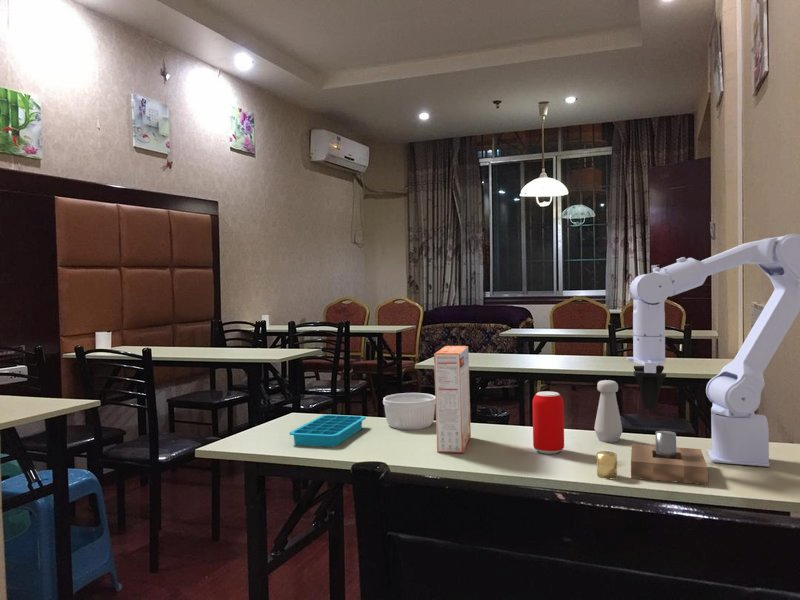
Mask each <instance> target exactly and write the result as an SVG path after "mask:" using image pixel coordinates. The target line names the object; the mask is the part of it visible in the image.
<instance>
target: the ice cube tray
mask: <svg viewBox="0 0 800 600" xmlns="http://www.w3.org/2000/svg"><path fill="white" fill-rule="evenodd" d="M365 420H366V416H364V415H347V414H346V415H345V414H344V415H341V414H324V415H320V416H318V417H316V418H314V419H312V420H311V421H309V422H306V423H305V424H302V425H301V426H299V427H297V428H295V429H293V430H290V431H289V435H290V436H293V443H294V445H295V446H309V447H310V446H312V447H327V448H328V447H329V448H333V447H334V448H335V447H337V446H338V445H340V444H341V443H343V442H344V441H345V440H347V439H349V438H351V436H353V435H355V434H356V433H357V432H359V431H360V430H362V427H363V421H365Z"/></svg>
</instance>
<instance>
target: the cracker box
mask: <svg viewBox="0 0 800 600" xmlns="http://www.w3.org/2000/svg"><path fill="white" fill-rule="evenodd" d="M469 357H470V355H469V346H468V345H467V346H466V345H445V346H443V347H441V349H439V350H438V351H436V352H435V353H434V354H433V361H434V362H433V363H434V368H433V369H434V391H435V392H434V393H435V394H434V396H435V398H436V403H435V422H436V429H435V430H436V450H437V451H436V452H437V453H444V454H447V453H452V454H463V453H465V451H466V450H465V449H466V448H467V446H468V443H469V441H470V439H471V436H472V434H471V432H472V431H471V428H472V427H471V402H470V401H471V400H470V399H471V396H470V395H471V394H470V364H469V363H470V362H469Z"/></svg>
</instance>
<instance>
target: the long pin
mask: <svg viewBox="0 0 800 600" xmlns="http://www.w3.org/2000/svg"><path fill="white" fill-rule="evenodd" d="M654 435H655V446H656V458H666V459H676V447H677V433H676V432H674V431H669V430H656V431H655V434H654Z"/></svg>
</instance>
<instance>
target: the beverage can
mask: <svg viewBox="0 0 800 600" xmlns="http://www.w3.org/2000/svg"><path fill="white" fill-rule="evenodd" d="M564 402H565V401H564V399H563V397H562V395H561V393H559V392H556V391H549V390H547V391H538V392H537V393H535V395H534V396H533V398H532V442H533V443H532V446H533V448H534V449H535V450H536V451H537V452H538V453H541V454H545V455H554V454H555V455H556V454H558V453H559V452H561V451H563V449H564V448H565V410H564V409H565V406H564V405H565V403H564Z"/></svg>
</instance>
